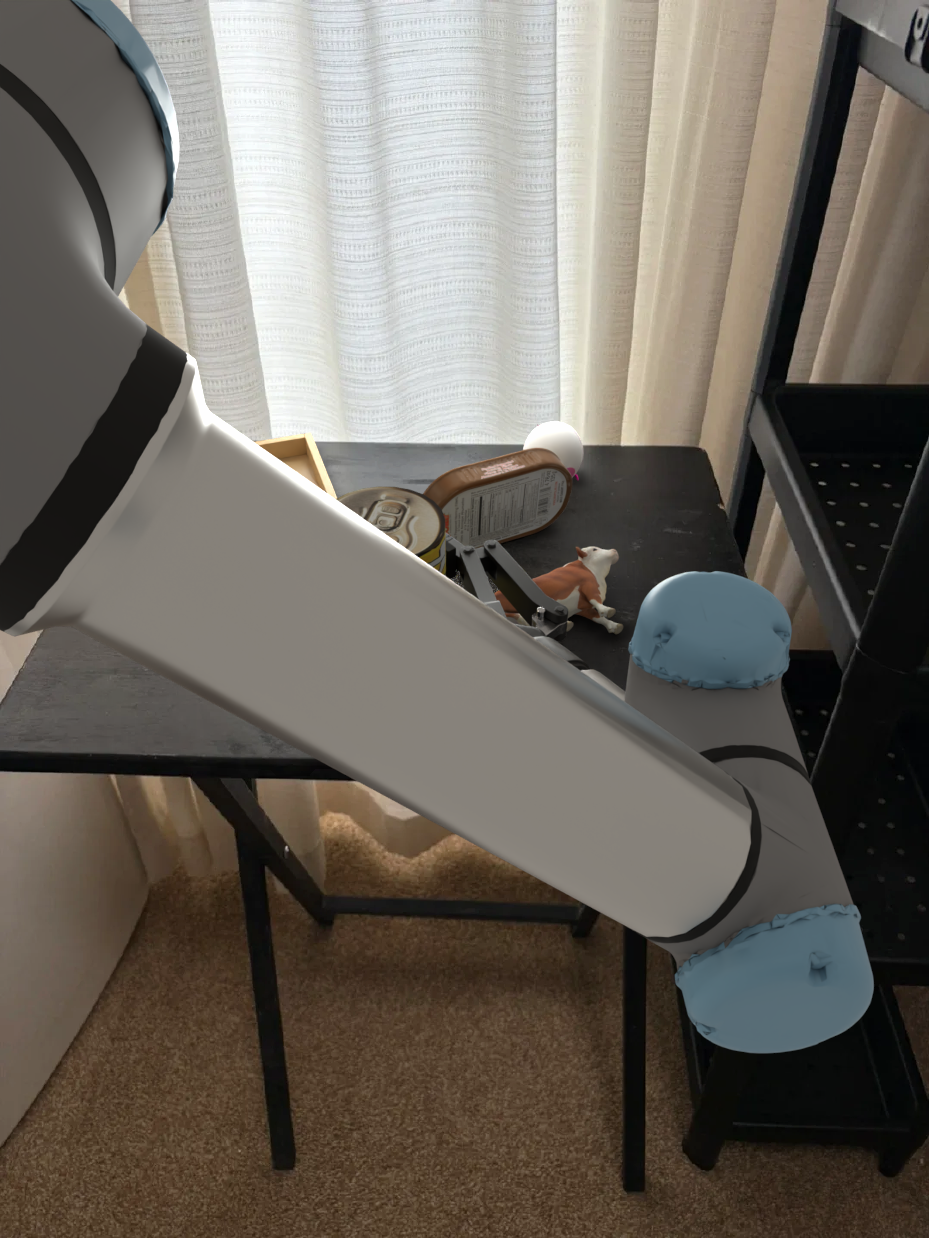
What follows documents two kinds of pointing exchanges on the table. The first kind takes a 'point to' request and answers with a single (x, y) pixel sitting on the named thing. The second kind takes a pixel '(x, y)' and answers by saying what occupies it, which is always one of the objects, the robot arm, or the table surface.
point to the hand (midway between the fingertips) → (348, 549)
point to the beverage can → (403, 520)
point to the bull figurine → (576, 588)
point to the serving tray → (300, 458)
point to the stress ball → (558, 443)
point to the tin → (502, 496)
